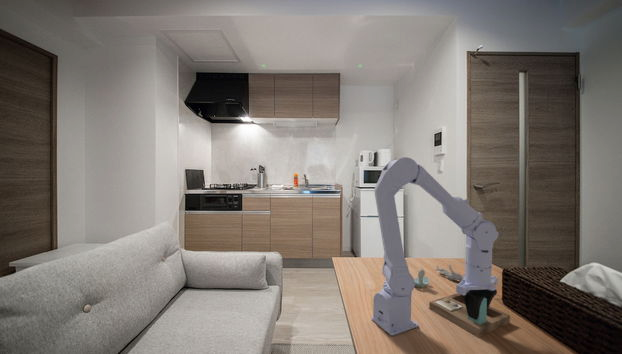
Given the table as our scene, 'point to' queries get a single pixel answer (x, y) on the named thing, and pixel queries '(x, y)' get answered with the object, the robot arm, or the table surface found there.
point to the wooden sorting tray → (458, 315)
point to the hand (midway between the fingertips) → (476, 315)
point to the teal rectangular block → (481, 313)
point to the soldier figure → (450, 274)
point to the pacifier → (421, 279)
